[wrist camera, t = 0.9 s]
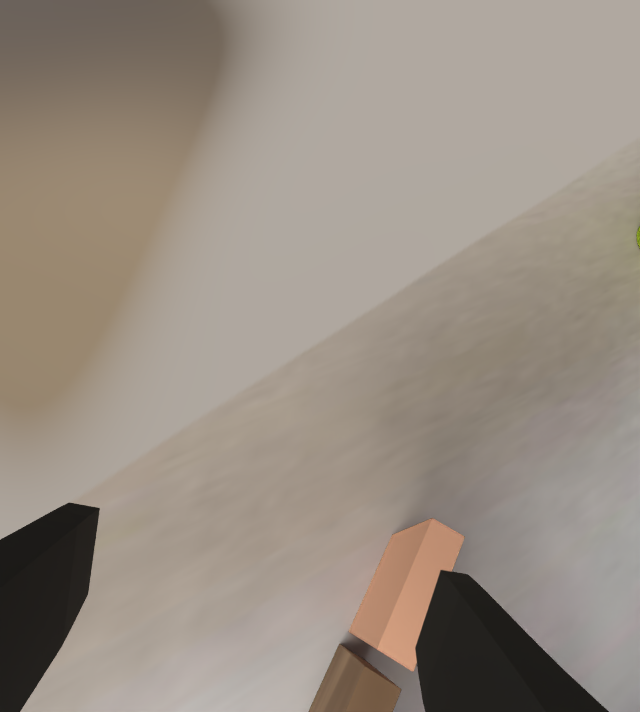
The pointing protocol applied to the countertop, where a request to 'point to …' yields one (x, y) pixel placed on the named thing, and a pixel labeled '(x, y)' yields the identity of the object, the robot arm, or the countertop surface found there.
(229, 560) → the countertop surface
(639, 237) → the soap dispenser
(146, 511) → the countertop surface
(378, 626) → the lead tile
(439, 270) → the countertop surface
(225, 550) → the countertop surface
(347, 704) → the tile
